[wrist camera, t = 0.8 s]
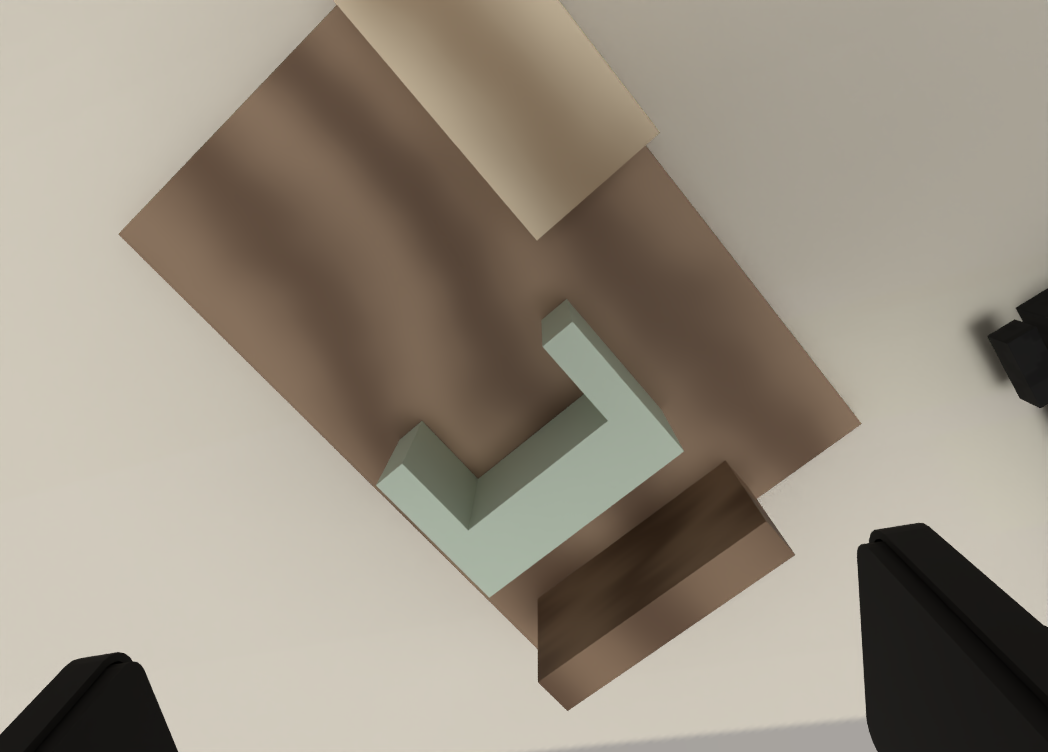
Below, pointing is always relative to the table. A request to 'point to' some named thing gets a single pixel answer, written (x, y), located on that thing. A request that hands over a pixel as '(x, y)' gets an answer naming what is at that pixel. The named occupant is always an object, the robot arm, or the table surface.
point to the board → (495, 337)
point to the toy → (1026, 350)
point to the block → (536, 466)
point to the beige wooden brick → (512, 95)
